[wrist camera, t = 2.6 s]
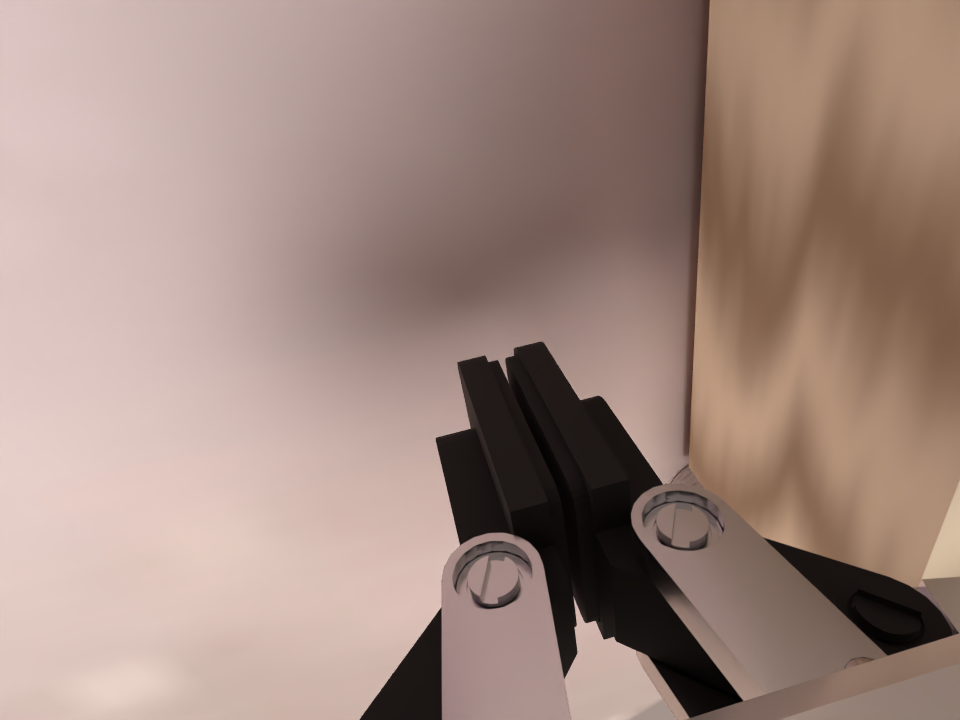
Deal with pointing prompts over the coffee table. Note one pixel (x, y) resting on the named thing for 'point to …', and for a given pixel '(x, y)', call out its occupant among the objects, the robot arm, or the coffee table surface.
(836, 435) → the gate
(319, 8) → the coffee table surface
